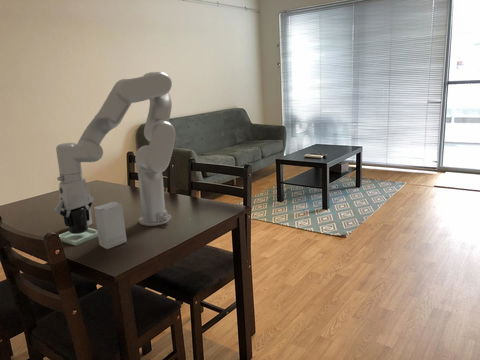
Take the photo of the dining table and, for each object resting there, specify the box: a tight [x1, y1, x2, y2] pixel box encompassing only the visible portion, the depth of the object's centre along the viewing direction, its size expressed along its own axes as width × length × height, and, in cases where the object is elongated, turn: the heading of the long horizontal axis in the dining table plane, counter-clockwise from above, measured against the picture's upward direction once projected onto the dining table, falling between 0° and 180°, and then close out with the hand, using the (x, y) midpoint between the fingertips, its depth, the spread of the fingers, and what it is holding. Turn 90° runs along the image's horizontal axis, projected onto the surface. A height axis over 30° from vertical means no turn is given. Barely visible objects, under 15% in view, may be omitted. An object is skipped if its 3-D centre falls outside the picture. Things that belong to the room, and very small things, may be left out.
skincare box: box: [93, 201, 128, 250], centre depth 144 cm, size 8×6×15 cm
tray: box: [58, 227, 98, 247], centre depth 153 cm, size 12×12×2 cm
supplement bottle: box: [67, 206, 89, 234], centre depth 151 cm, size 7×7×12 cm
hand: (77, 222), depth 152 cm, fingers closed on supplement bottle, 6 cm apart
